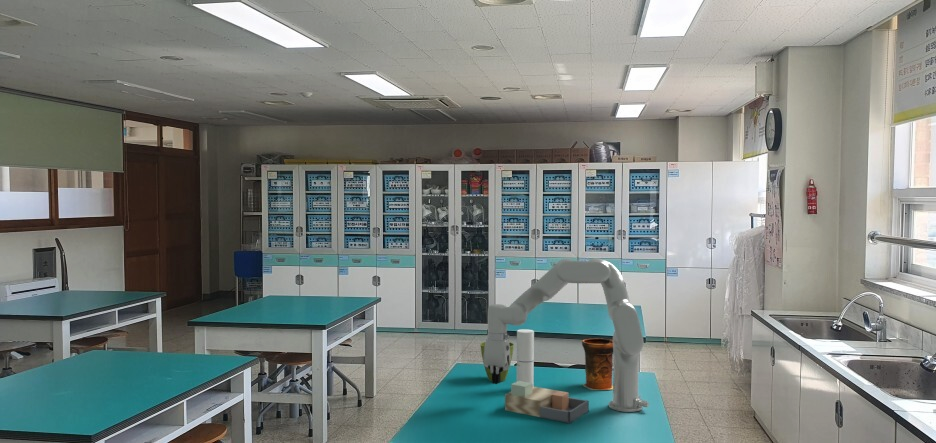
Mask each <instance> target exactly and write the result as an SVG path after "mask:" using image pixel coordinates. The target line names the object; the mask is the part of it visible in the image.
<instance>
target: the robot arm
mask: <svg viewBox="0 0 936 443" xmlns="http://www.w3.org/2000/svg"><path fill="white" fill-rule="evenodd" d="M625 283H626V282H625V280H624V277H623V275H622V274H621V272H620V271H619V270H618V268H617V267H616V266H615V265H614V264H612V263H611V262H609V261H608V260H605V259H601V258H599V257H594V258H590V259H589V260H572V259H570V258H562V259H560V260H559V261H557V263H556V264H555V265H553V266H552V267H551V268H550V269H549V270H548V271H547V272H546V273H544V275H542V276H541V277H540V278H539V279H538V280H537V281H536V282H535V283H533V284H532V285H531V286H529V288H528V289H527V290H526V291H524V292H523V293H521V295H519V296H518V297H517V298H516V299H515V300H514V301H513V302H511V304H510V305H509V306H506V305H505V304H498V303H497V304H495V303H493V304H490V305H489V306H488V309H487V338H486V339H485V341H484V342H485V347H484V363H483V366H485V367H487V368H489V369H490V371H491V373H492V381H491V383H492V384H493V385H497V384H500V383H501V382H500V378H501V373H502V371H503V370H508V369H509V370H510V367H509V365H510V366H511V364H510V363H512V359H511V355H510V345H509V342H510V341H509V340H508V339H510V335H509V334H508V325H511V326H522V325H523V324H525V323H526V321H527V319H528V315H529V313H530V312H532V311H533V310H535V309H536V307H538V306H539V305H541V304H542V303H544V302H547V301H549V300H551V299H552V298H553V297H555V295H557V294H558V293H559V292H560V291H561V290H562V289H563V288H564V287H565V286H566V285H567V284H600V285H601V287H602V290H603V294H604V297H605V302H606V306H607V313H608V316H609V318H610V320H611V321H612V324H613V327H614V332H613V334H612V340H613V368H612V385H613V389H612V390H613V391H612V400H611V401H609V403H608V406H609V408H610V409H612V410H615V411H618V412H624V413H635V412H639V411H641V410H643V407H644V408H649V406H650V403H649V401H648V400H642V397H641V395H639V376H640V375H639V369H640V367H639V365H640V364H639V362H640V356H639V354H641V353H642V351H643V349H644V344H645V343H644V336H643V332H642V327H641V322H640V318H639V315H638V312H637V309H636V308H635V306H634V305H633V304H632V303H631V302H630V298H629V295H628V291H627V288H626V284H625ZM496 366H497V368H496ZM485 367H484V368H485Z"/></svg>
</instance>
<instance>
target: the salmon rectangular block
mask: <svg viewBox="0 0 936 443" xmlns="http://www.w3.org/2000/svg"><path fill="white" fill-rule="evenodd" d="M557 391H558V392H556V393H555V394H553V395H552V408H553V409H558V410H563V411H565V410H566V409H568V408H569V394H570V393H569V392H566V391H561V390H557Z"/></svg>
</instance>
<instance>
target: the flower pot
mask: <svg viewBox="0 0 936 443" xmlns="http://www.w3.org/2000/svg"><path fill="white" fill-rule="evenodd" d="M485 342H486V341H483V342H481V343H480V345H479V347H480V353H481V358H482V363H483V364H484V347H485ZM509 345H510V355H511V360H512V359H513V358H512V357H513V352H514V348H515V346H514V343H513V342H510V341H509ZM511 363H512V362H511ZM511 363H510V365H509V369H508V370H503V371H502V373H501V378H500V383H501V382H504V381H506V379H507V376H508V374H509V370H510V367H511ZM483 366H484V365H483ZM496 368H497V366H496ZM484 369H485V373H486V376H487V379H488V380H489V381H490V382H492V373H491V371H490V369H489V368H487V367H485V366H484Z"/></svg>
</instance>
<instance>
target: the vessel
mask: <svg viewBox="0 0 936 443" xmlns="http://www.w3.org/2000/svg"><path fill="white" fill-rule="evenodd" d="M581 346H582V347H583V350H584V360H585V362H584V363H585V364H584V365H585V366H584V370H585V383H583V384H582V386H583V387H584V388H587V389H588V390H591V391H594V390H595V391H603V390H605V391H607V390H608V391H609V390H613V366H614V362H613V360H614V355H613V339H608V338H602V337H601V338H599V337H594V338H586V339H583V340H582V341H581Z"/></svg>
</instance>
